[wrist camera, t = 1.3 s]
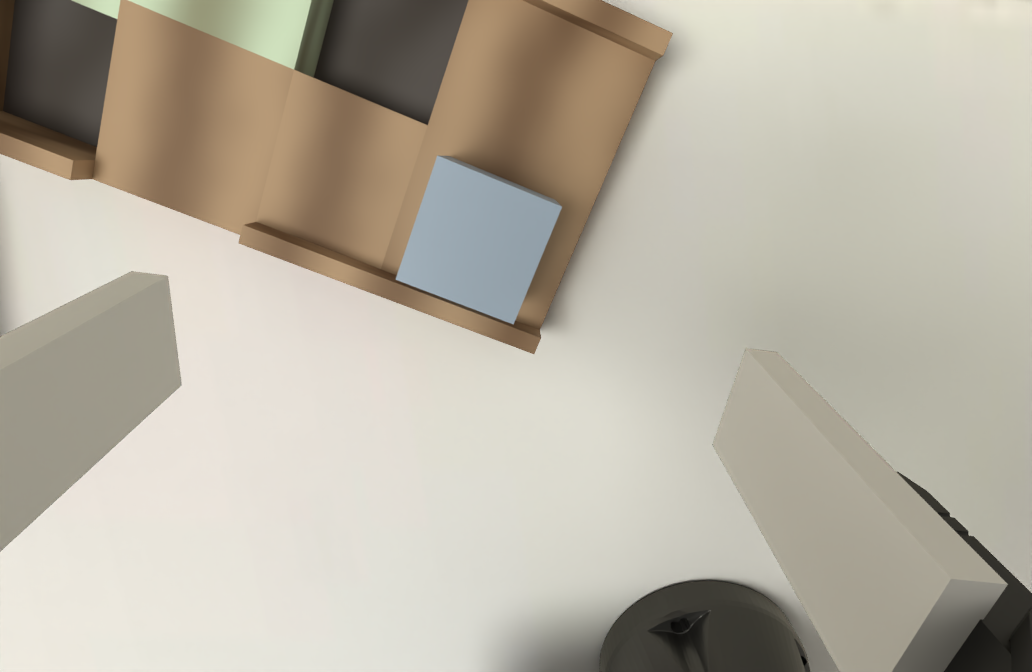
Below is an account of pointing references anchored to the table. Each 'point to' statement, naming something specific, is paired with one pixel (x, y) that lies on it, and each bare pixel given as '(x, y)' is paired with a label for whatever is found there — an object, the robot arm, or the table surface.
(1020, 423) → the table surface
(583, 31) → the wooden tray
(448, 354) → the table surface
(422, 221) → the block
